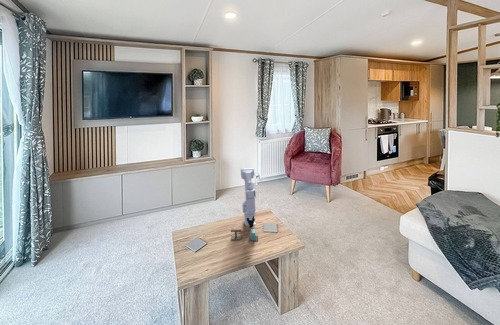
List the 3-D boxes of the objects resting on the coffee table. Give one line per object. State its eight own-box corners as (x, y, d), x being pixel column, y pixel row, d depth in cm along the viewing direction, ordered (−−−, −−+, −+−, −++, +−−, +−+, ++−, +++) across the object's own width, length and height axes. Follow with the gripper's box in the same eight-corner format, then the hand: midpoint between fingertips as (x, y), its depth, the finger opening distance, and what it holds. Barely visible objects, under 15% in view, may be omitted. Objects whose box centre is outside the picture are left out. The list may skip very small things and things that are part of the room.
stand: (231, 236, 186) (231, 228, 184) (241, 236, 185) (241, 228, 184) (230, 240, 181) (230, 231, 179) (240, 240, 180) (240, 231, 179)
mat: (249, 236, 185) (249, 235, 185) (258, 236, 185) (258, 235, 185) (248, 241, 179) (248, 240, 179) (257, 241, 179) (257, 240, 178)
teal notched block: (251, 236, 184) (251, 229, 183) (255, 236, 184) (255, 229, 183) (250, 240, 179) (250, 233, 178) (255, 240, 179) (254, 233, 178)
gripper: (245, 202, 185) (246, 220, 189) (244, 211, 171) (245, 230, 175) (255, 202, 185) (256, 220, 188) (255, 211, 171) (255, 230, 174)
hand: (251, 225), depth 182 cm, fingers open, 7 cm apart
